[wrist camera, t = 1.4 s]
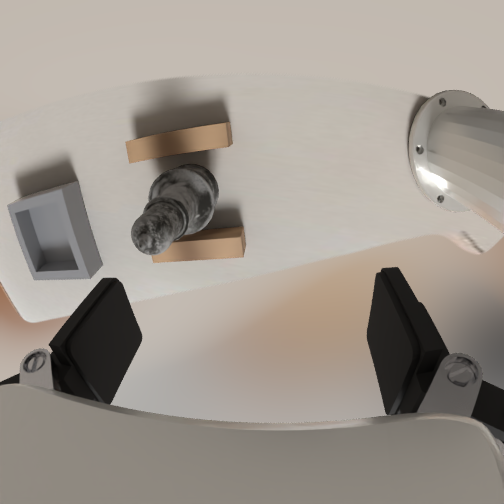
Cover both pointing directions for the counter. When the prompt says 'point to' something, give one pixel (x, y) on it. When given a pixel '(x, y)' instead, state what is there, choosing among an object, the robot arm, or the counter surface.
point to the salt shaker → (175, 208)
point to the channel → (185, 141)
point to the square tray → (56, 234)
